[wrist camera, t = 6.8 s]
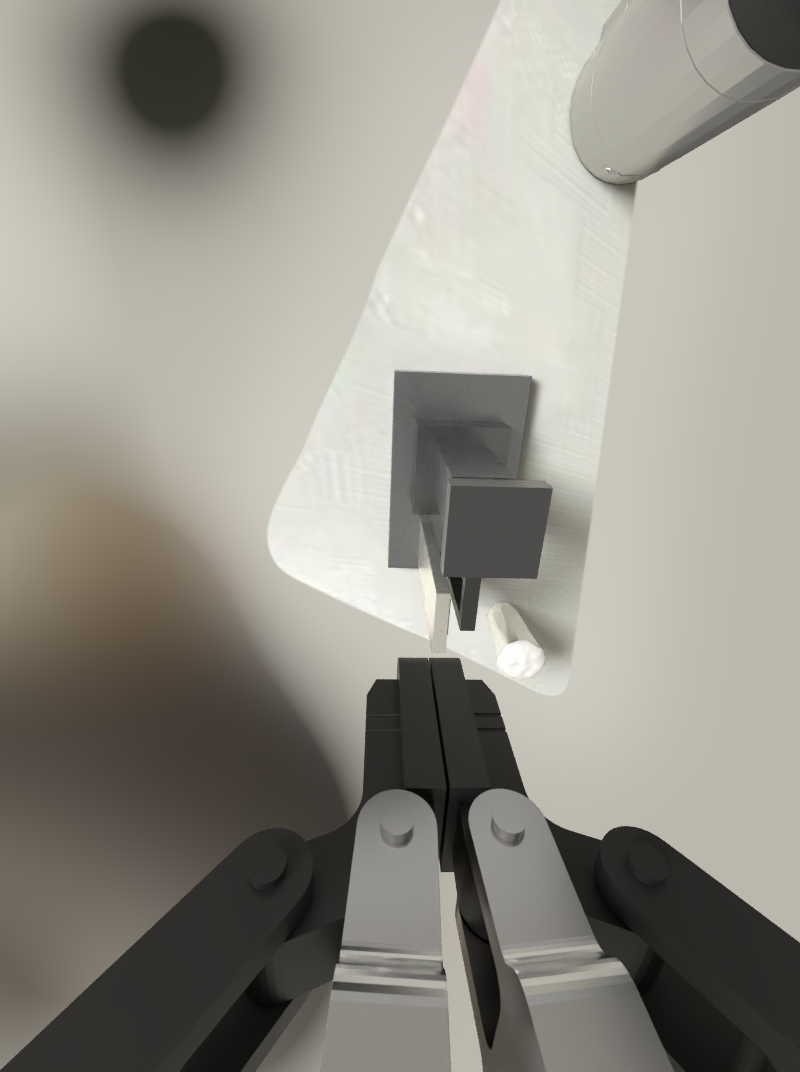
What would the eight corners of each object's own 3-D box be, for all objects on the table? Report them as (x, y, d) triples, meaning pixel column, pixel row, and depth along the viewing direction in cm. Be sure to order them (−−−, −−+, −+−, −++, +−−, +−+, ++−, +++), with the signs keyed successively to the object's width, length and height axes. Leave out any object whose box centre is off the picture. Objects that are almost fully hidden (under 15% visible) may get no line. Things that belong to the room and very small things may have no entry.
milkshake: (531, 596, 51) (563, 653, 42) (512, 635, 53) (539, 697, 44) (492, 586, 51) (517, 642, 42) (475, 626, 53) (495, 687, 44)
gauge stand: (394, 369, 42) (401, 389, 27) (527, 375, 42) (604, 397, 28) (388, 560, 49) (390, 657, 34) (500, 563, 50) (550, 659, 35)
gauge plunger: (431, 442, 38) (450, 485, 27) (505, 445, 38) (552, 488, 27) (423, 560, 42) (438, 636, 31) (490, 561, 42) (526, 637, 32)
